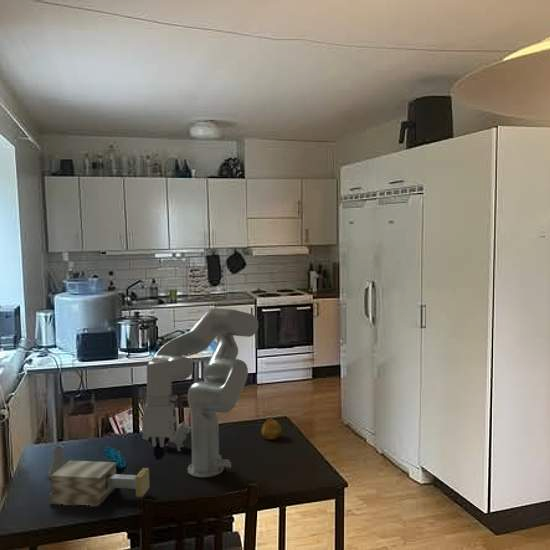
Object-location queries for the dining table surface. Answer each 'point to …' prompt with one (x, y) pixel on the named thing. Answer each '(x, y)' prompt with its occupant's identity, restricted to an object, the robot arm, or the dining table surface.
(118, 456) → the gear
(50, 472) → the flask
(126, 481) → the shaft
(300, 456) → the dining table surface
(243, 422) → the dining table surface
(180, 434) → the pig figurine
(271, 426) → the fruit
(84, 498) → the block
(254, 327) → the robot arm
